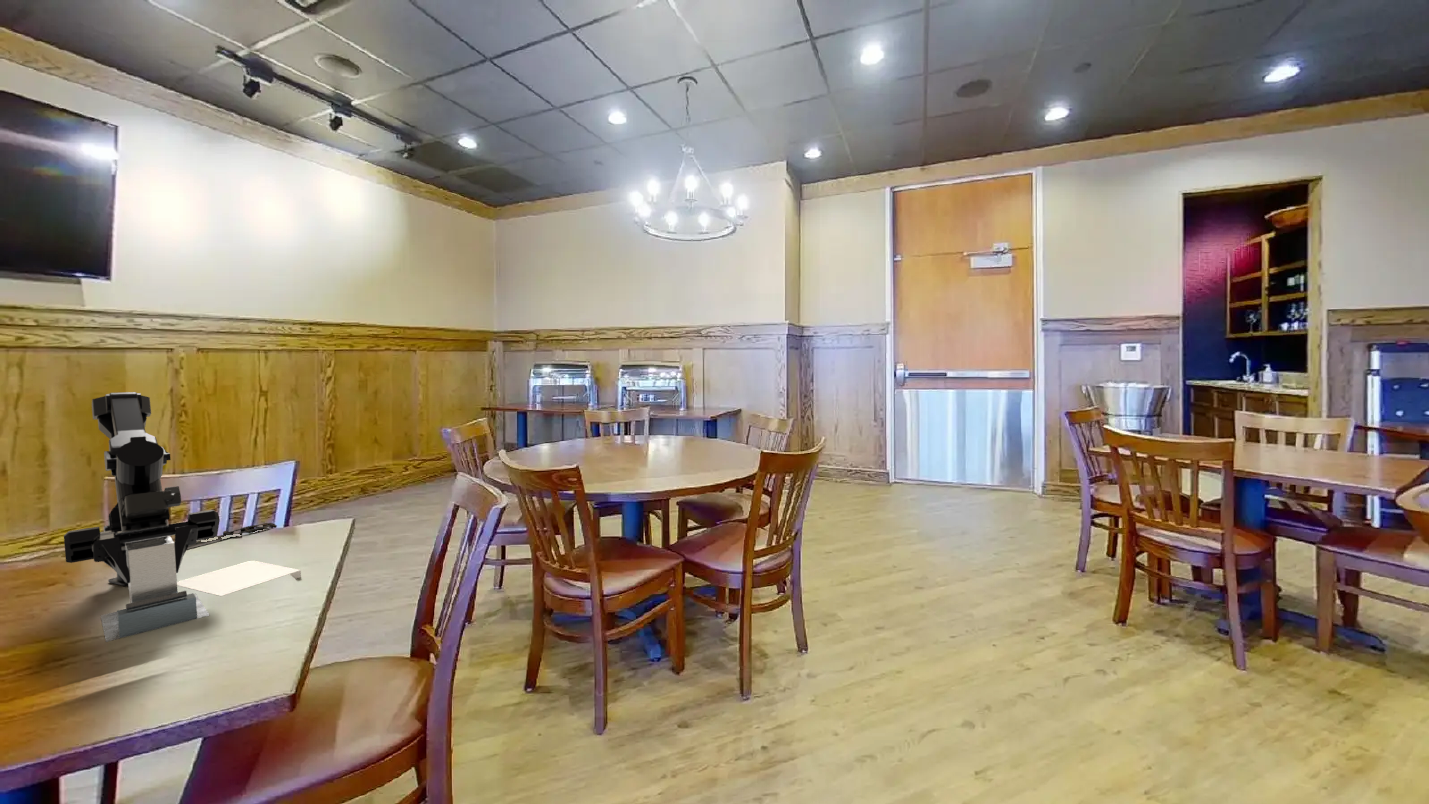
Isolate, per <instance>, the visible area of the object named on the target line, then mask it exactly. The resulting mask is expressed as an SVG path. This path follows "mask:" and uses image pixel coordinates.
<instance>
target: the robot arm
mask: <svg viewBox="0 0 1429 804" xmlns="http://www.w3.org/2000/svg"><path fill="white" fill-rule="evenodd" d="M150 398H151V397H149V396H146V395H142V393H141V392H140V393H137V392H136V391H132V392H131V391H130V392H129V391H126V392H110V393H107V394H105V395H104V396H99V397H96V398H92V400H91V412H92V420H97V424H98V425H97V426H98V430H99V431H100V432H101V433H102V434H103V435H105V436H106V437H107V438H109V440H108V451H105V450H104V451H103V452H104V453H103V456H104V457H103V459H104V467H105V471H106V472H109V471H110V472H111V476H113V477H114V483H115V484H114V485H115V493H116V503H115V505H114V507H113V508H112V509H111V511H110V513H108V521H107V524H108V525H104V526H103V531H101V528H100V526H95V527H87V528H86V527H85V528H80V529H74V530H73V529H72V530H69V531H67V532H66V533H65V534H63V543H64V544H63V545H64V553H65V556H64V558H65V563H70V564H72V563H79V562H84V561H90V560H93V562H95V563H100V562H101V563H104V564H106V565H107V566H108V567H110V568H111V569H112V570H114V572H116V577H112V578H109V579H108V583H110V584H115V585H119V586H122V587H127V586H128V583H130V576H129V569H128V566H127V559H126V545H125V544H127V543H133V542H139V541H145V540H151V539H157V538H163V537H169V536H170V537H171V536H174V541H173V542H174V547H175V561H176V574H178V573H179V571H180V568H181V564H182V561H183V557H184V555H185V554H186V552H187V550H188V549H187V548H188V547H189V546H190V545H194V544H196V542H197V541H200V540H204V539H209V538H214V537H216V536H218V532H219V527H220V522H221V519H220V515H219V512H218V511H217V510H215V509H209V510H201V511H200V510H199V511H194V512H188V514H187V515H188V517H187V521H181V522H174V523H169V521H168V520H170V517H171V516H170V510H169V508H174V507H180V506H181V505H182V496H181V495H182V494H181V490H180V486H176V485H175V486H169V487H165V488H164V490H163V487H162V482H161V478H162V476H163V468H164V467H163V466H165V465H166V464H168V461H171V453H170V452H167V450H166V449H164V447H163V446H161V445H159V443H158V440H157V437H156V436H154V435H152V434H149V433H147V431H146V424H147V417H151V416H152V409H151V408H152V407H151V399H150ZM128 587H129V586H128Z"/></svg>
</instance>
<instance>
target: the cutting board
mask: <svg viewBox="0 0 1429 804" xmlns="http://www.w3.org/2000/svg"><path fill="white" fill-rule="evenodd" d="M287 575H290V576H291V577H292V578H293V579H295V580H297V579H300V578H302V570H301V569H297V568H294V567H293V568H291V567H288V566H287V567H286V566H283V565H278V564H272V563H268V562H263V561H257V560H254V559H253V560H248V561H244V562H241V563H238V564H234V565H230V566H227V567H223V568H220V569H216V570H213V571H209V572H205V573H203V574H199V575H195V576H191V577H189V578H186V579H181V580H179V581H178V580H177V587H178V586H179V587H181V588H182V587H183V588H186V589H191V590H194V591H199V592H203V593H207V594H210V595H214V596H219V597H223V596H226V595H229V594H232V593H235V592H238V591H241V590H245V589H247V588H251V587H254V586H256V585H259V584H263V583H266V582H269V581H272V580H275V579H276V580H277V579H278V578H281V577H284V576H287Z"/></svg>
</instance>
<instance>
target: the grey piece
mask: <svg viewBox="0 0 1429 804" xmlns="http://www.w3.org/2000/svg"><path fill="white" fill-rule="evenodd" d="M187 593H188V592H187V590H182V591H179V592H177V593H173V594H168V595H164V596H160V597H155V598H151V599H146V600H142V601H137V602H133V603H130V602H129V603H125V608H123V609H118V610H116V611H113V612H109V613H105V614H101V615H100V620H101V625H102V630H103V635H104V640H105V642H106V643H108V642H111V641H114V640H119V639H124V638H127V637H131V636H135V635H139V634H143V633H147V632H151V631H154V630H158V629H162V628H166V627H170V626H175V625H177V624H182V623H186V622H189V621H193V620H197V619H202V618H205V617H209V616H210V614H209V612H208V610H207V609H206V607H205V606H204V605H203V602H202V601H201V600H200V598H199V596H198V595H197V593H188V594H187Z"/></svg>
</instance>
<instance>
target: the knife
mask: <svg viewBox="0 0 1429 804" xmlns="http://www.w3.org/2000/svg"><path fill="white" fill-rule="evenodd" d="M277 526H278V525H276V524H275V523H273V522H264V523H260V524H255V525H248V526H243V527H241V528H237V529H234V530H231V531H228V530H224V531H223V532H222V534H221V535H217V536H215V537H218V539H216V540H212V541H207V542H201V540H198V541H197V542H196V544H194V545H190V546H189V547H188V548H187V550H190V549H193V548H197V547H201V546H205V545H209V544H213V543H217V542H221V541H220V540H222V538H221V537H224V536H226V535H233V534H240V535H242V536H243V533H249V534H250V533H251V534H252V532H255V531H257V530H263V529H265V530H266V529H268V528H272V527H275V528H277ZM272 529H273V528H272ZM238 531H240V532H238ZM203 540H206V539H203ZM207 540H208V539H207ZM222 541H223V540H222Z"/></svg>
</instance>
